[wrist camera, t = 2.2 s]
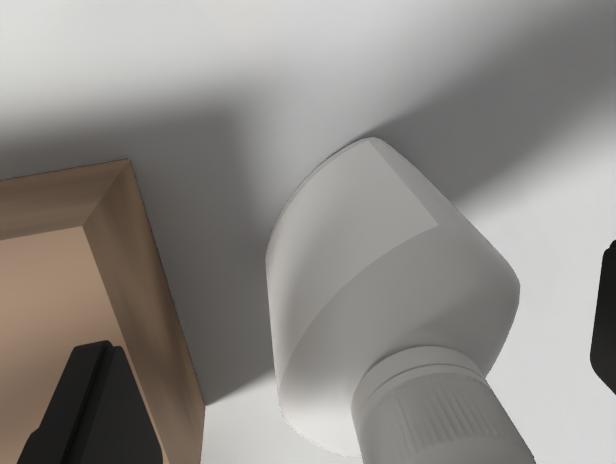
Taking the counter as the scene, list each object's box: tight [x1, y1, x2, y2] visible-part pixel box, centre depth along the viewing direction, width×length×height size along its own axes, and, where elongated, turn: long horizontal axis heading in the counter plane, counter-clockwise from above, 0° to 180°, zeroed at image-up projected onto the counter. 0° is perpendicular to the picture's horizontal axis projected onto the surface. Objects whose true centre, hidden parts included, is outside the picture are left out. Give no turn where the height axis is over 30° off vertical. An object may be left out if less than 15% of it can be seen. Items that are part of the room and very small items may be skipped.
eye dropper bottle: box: [265, 137, 536, 464], centre depth 12 cm, size 4×6×12 cm
